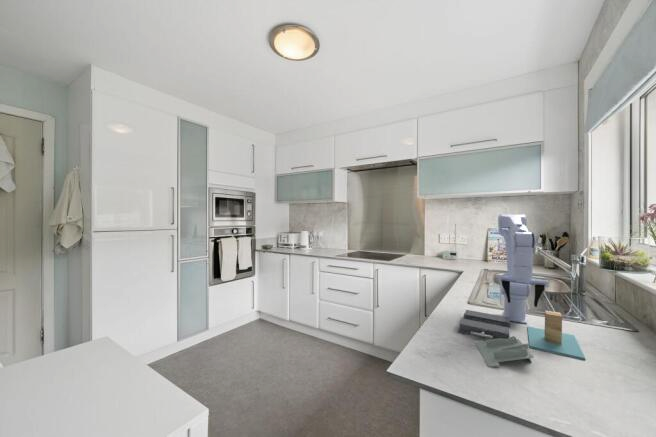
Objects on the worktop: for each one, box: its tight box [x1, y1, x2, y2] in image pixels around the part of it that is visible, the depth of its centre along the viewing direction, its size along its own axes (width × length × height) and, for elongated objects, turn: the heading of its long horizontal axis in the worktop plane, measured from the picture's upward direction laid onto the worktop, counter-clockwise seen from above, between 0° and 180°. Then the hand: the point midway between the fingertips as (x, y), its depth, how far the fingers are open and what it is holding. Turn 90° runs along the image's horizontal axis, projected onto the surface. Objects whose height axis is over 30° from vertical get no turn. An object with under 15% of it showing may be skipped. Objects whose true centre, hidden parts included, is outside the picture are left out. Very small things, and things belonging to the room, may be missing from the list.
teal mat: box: [527, 326, 586, 361], centre depth 90 cm, size 18×13×1 cm
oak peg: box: [544, 310, 563, 344], centre depth 90 cm, size 4×4×9 cm
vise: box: [458, 309, 511, 340], centre depth 101 cm, size 22×15×3 cm
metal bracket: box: [474, 335, 535, 368], centre depth 81 cm, size 14×6×15 cm
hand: (522, 304), depth 97 cm, fingers open, 7 cm apart
